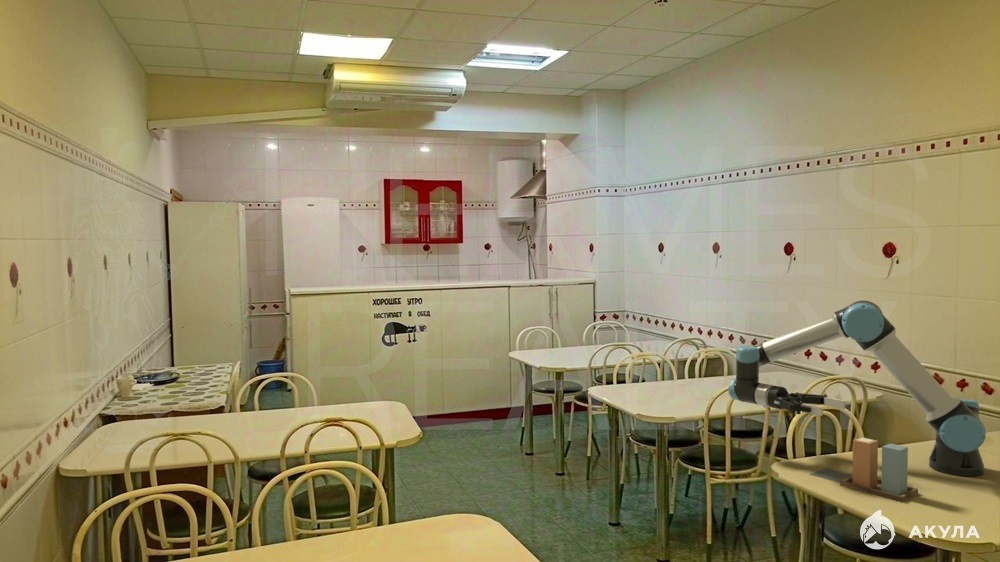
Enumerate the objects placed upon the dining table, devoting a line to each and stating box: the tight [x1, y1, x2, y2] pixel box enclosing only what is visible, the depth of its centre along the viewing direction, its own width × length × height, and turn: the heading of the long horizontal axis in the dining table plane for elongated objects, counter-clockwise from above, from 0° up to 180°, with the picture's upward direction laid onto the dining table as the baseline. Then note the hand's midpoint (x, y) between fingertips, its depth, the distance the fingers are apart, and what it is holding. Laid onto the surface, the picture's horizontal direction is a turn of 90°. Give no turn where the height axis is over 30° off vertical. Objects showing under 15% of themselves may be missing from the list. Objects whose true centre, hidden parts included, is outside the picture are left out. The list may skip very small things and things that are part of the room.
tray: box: [839, 476, 919, 503], centre depth 210 cm, size 11×18×2 cm, turn 37°
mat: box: [809, 467, 853, 484], centre depth 223 cm, size 10×10×1 cm
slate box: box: [881, 443, 909, 496], centre depth 206 cm, size 5×5×14 cm
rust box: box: [852, 436, 879, 488], centre depth 213 cm, size 5×5×14 cm
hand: (833, 408), depth 222 cm, fingers open, 13 cm apart
